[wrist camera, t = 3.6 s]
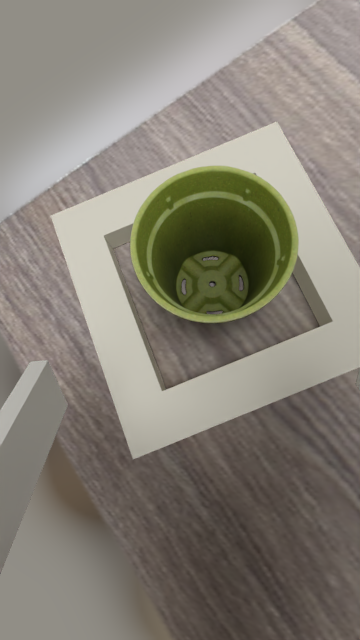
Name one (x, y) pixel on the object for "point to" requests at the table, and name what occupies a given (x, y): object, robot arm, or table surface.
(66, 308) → the table surface
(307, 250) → the well board
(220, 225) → the plant pot
